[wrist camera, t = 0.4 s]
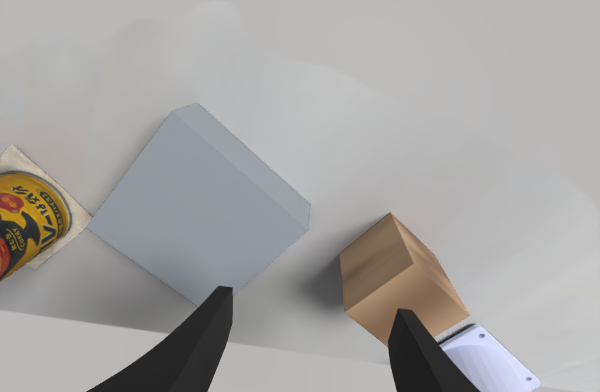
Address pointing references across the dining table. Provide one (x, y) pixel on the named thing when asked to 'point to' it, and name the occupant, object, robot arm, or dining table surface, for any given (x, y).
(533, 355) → the dining table surface
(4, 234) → the condiment
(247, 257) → the slate box
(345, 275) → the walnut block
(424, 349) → the robot arm
